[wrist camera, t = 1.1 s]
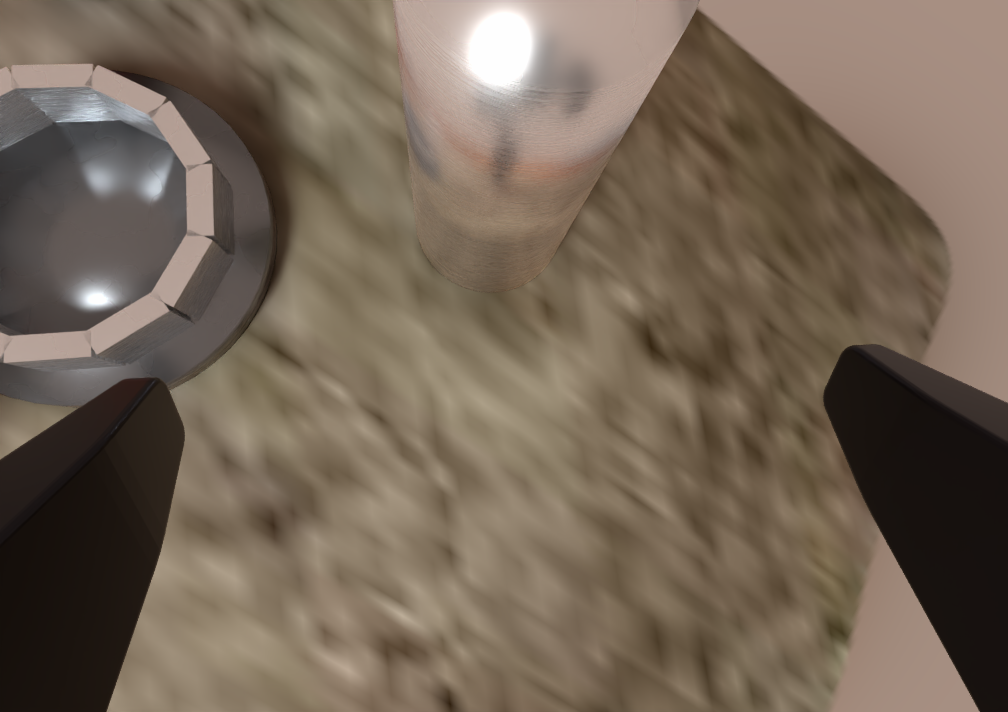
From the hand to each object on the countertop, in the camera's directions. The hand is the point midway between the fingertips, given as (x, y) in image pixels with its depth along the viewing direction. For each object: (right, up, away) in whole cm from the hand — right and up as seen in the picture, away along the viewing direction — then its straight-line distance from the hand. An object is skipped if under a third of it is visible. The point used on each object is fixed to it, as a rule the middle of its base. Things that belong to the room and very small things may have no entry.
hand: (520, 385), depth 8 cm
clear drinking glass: (-1, +6, +15) cm, 16 cm away
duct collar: (-15, +5, +13) cm, 20 cm away
